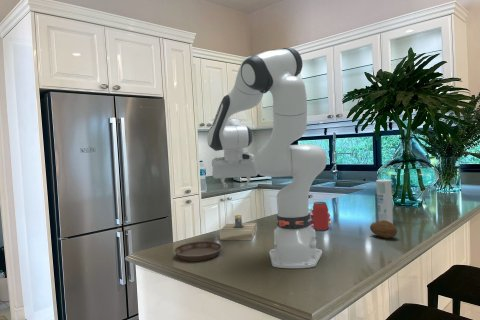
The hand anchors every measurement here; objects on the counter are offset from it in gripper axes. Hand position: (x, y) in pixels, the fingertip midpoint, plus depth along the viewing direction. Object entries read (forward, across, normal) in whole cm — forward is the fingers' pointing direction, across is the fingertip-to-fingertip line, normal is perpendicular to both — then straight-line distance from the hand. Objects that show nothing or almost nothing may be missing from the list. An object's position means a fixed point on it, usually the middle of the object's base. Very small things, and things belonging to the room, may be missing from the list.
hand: (236, 187), depth 158 cm
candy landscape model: (+22, +28, +25) cm, 43 cm away
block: (+22, 0, 0) cm, 22 cm away
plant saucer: (+22, -10, -26) cm, 36 cm away
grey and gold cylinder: (+22, 0, +1) cm, 22 cm away
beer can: (+22, +36, +11) cm, 43 cm away
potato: (+22, +60, -5) cm, 64 cm away
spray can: (+22, +65, +19) cm, 71 cm away
